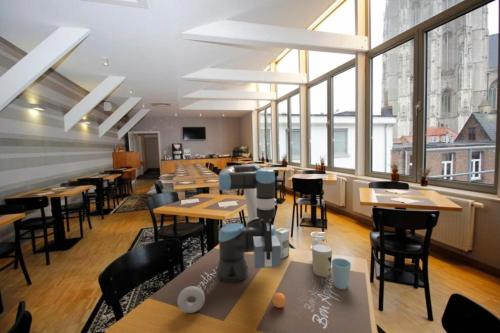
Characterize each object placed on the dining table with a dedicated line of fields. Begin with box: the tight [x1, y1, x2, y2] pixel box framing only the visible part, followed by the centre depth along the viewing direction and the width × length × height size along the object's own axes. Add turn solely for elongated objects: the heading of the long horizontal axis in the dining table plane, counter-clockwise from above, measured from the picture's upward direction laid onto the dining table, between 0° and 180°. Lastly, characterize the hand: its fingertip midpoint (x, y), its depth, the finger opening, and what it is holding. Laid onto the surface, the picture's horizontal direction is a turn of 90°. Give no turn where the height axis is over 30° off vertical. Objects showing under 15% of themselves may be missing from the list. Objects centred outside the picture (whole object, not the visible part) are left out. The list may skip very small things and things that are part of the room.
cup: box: [331, 257, 352, 290], centre depth 104 cm, size 8×8×10 cm
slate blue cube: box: [252, 235, 282, 269], centre depth 101 cm, size 10×10×9 cm
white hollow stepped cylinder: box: [310, 231, 326, 251], centre depth 127 cm, size 7×7×15 cm
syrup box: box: [275, 227, 290, 260], centre depth 132 cm, size 6×6×14 cm
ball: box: [271, 292, 286, 308], centre depth 92 cm, size 5×5×5 cm
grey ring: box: [176, 285, 206, 314], centre depth 90 cm, size 10×4×10 cm, turn 100°
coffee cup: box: [311, 243, 333, 277], centre depth 115 cm, size 9×9×12 cm
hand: (266, 259), depth 101 cm, fingers closed on slate blue cube, 10 cm apart
